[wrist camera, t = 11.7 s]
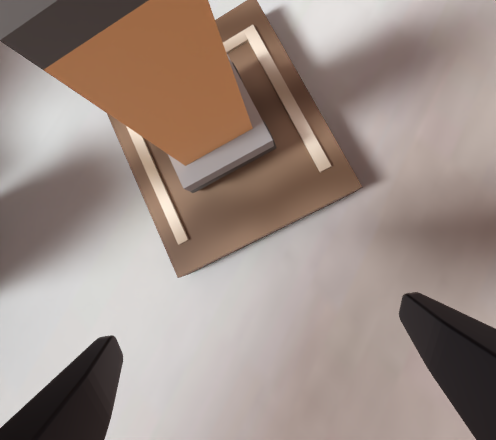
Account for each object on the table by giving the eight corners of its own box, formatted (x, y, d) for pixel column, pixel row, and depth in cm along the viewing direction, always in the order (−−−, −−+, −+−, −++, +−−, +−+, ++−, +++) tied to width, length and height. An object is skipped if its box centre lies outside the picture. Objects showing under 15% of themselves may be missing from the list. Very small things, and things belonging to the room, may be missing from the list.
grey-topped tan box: (278, 154, 18) (244, -67, 5) (198, 197, 18) (-16, 106, 6) (234, 72, 19) (109, -296, 6) (160, 116, 19) (-97, -122, 6)
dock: (354, 192, 18) (363, 186, 16) (189, 274, 20) (176, 278, 18) (257, 18, 21) (253, -7, 18) (115, 105, 22) (96, 91, 20)
